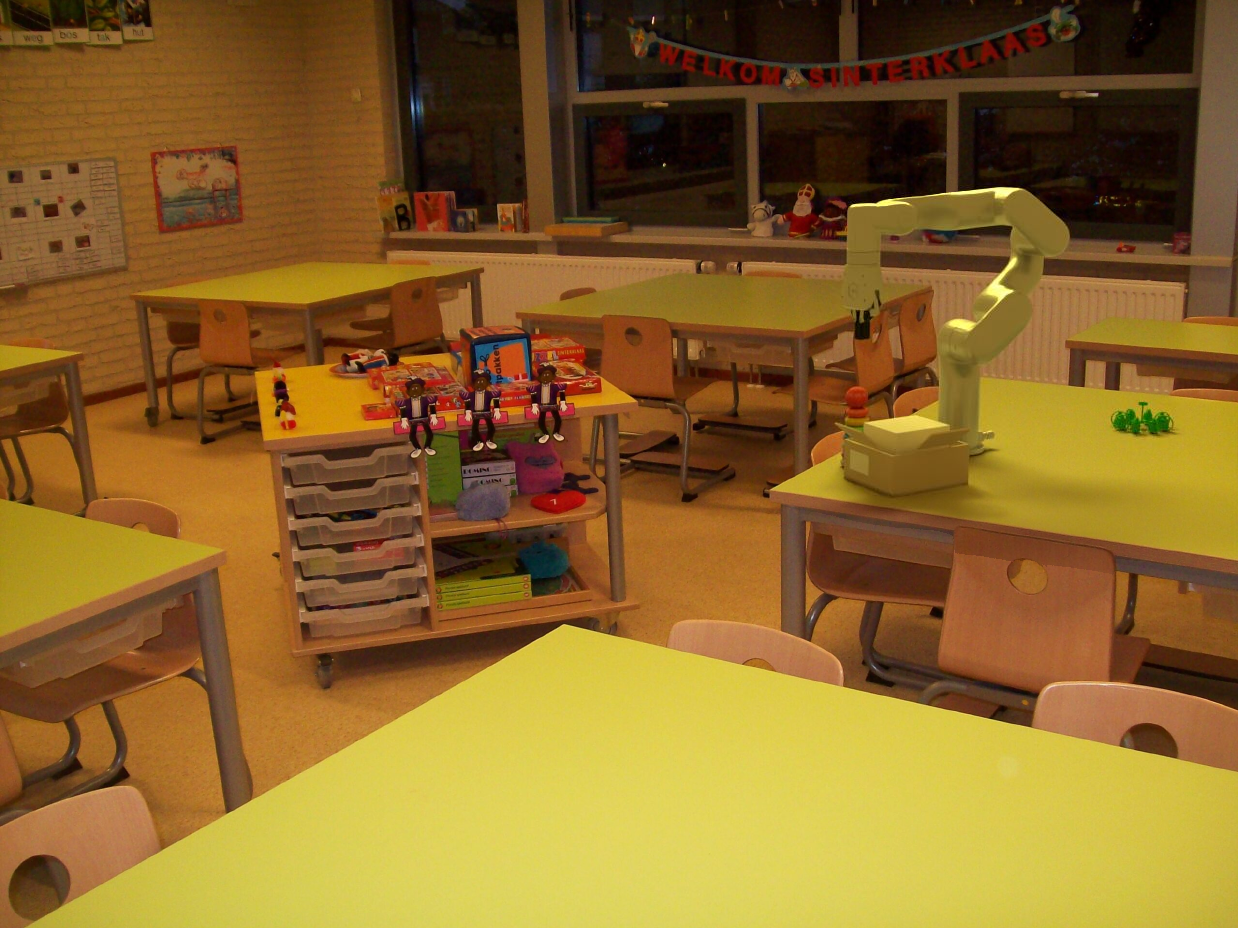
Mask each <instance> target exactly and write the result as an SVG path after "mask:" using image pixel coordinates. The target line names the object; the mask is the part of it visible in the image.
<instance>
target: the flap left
mask: <svg viewBox="0 0 1238 928" xmlns="http://www.w3.org/2000/svg"><path fill="white" fill-rule="evenodd" d="M970 430H971V427H970V428H964V429H957V430H951V431H944V432H937V433H932V434H930V435H929V436H928V437H927V438H926V439H925V440H924V441H923V442H922V443H921V444H920V445H918V446H917V447H916V450H919V449H925V448H931V447H938V446H944V445H950V444H955V443H956V442H957V441H958V440H960V439H961V438H962V437H963V436H964V435H965V434H966V433H968V432H969V431H970Z"/></svg>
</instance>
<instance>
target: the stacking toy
mask: <svg viewBox="0 0 1238 928" xmlns="http://www.w3.org/2000/svg"><path fill="white" fill-rule="evenodd" d="M868 400H869V394H868V392H867V391H866V389H864V388H863V387H860V386H853V387H850V388H849V390H847V392H846V394H845V402H846V403H847V405H848V407H847V408H846V410H845V414H846V415H847V416H846V417H845V418H844V422H845V426H848V427H851V428H854V429H857V430H860V431H862V432H864V423H865V422H870V418H869V417H868V414H869V409H868V408H867V407H866V404H867V403H868ZM849 438H851V437H850V436H849V435H848V434H847V433H844V434H843V437H842V439H843V440H844V439H849ZM840 455H841V457H842V458H841V459H840V466H842V467H843V468H844V441H843V442H842V451H841V453H840Z"/></svg>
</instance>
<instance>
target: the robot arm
mask: <svg viewBox="0 0 1238 928" xmlns="http://www.w3.org/2000/svg"><path fill="white" fill-rule="evenodd" d="M846 212H847V215H846V216H847V217H846V218H847V219H846V220H847V222H846V225H847V226H846V264H844V269H843V274H842V282H841V297H840V302H841V306H842V307H843V308H845V309H846V311H847V312H848V313H850V314H851V315H852V321H853V322H854V340H858V341H863V340H870V338H871V322H873V318H874V317H876V316H879V315H880V309H881V308H882V307H883V301H884V300H883V299H884V287H883V286H884V285H883V274H882V273H883V272H882V266H881V246H882V244H881V242H882V241H881V240H882V239H881V237H882V235H887V236H898V237H899V236H906V235H909V234H910V233H912V232H914V230H936V231H959V230H967V229H975V228H983V227H984V228H985V227H993V226H1008V227H1009V226H1010V227H1012V229H1011V232H1010V235H1009V236H1010V238H1009V241H1010V257H1009V261H1008V263H1007V264H1006V265H1005V267H1004V268H1003V269H1002V270H1001V272H999V274H998V275H997V276H996V277H995V278H994V279H993V280H992V281H991V282H990V283H989V284H988V285H987V286H986V288H984V289H983V290H982V291H981V292H980V293H979V294H978V295H977V296H976V298H975V300H974V301H973V304H972V306H971V308H972V314H973V317H974V318H975V320H977V322H976V321H974V320H971V319H969V320H968V319H965V318H953V319H951V320H948V321H947V322H945V323H944V324H943V325H942V326H941V327H940V329H939V331H938V333H937V336H936V351H937V358H938V367H939V371H938V372H939V374H938V375H939V377H938V378H939V379H938V384H939V385H938V401H937V402H938V404H937V405H938V406H937V407H938V408H937V422H941V423H944V424H947V425H950V431H951V430H957V429H964V428H970V427H971V430H970V431H969V432H968V433H966V434H965V435H964V436H963V437H962V438H961V439H960V440H958V441H961V442H964V443H967V444H970V446H969V456H975V455H980V454H982V453H983V452H985V445H984V444H983V443H982V442H984V441H985V440H993V439H994V438H995V432H994V431H993V430H988V431H984V432H983V430H980V429H979V428H980V427H979V426H980V408H981V407H980V405H981V404H980V403H981V401H980V399H981V382H982V381H981V379H982V376H981V375H982V374H981V369H980V367H981V366H986V365H987V364H989V363H991V362H993V361H994V360H995V359H997V357H999V356H1000V355H1001V354H1002V353H1003V352H1004V351H1005V350H1006V348H1008V347H1009V346H1010V345H1011V344H1012V343H1013V342H1014V340H1016V339H1017V338H1018V336H1020V334H1022V332H1023V331H1024V330H1025V329H1026V328H1027V326H1028V325H1029V323H1030V321H1031V319H1032V316H1033V310H1034V308H1033V302H1032V300H1031V298H1030V297H1029V296H1030V295H1031V294H1032V292H1034V290H1036V288H1037V287H1038V285H1039V284H1040V282H1041V279H1042V277H1043V271H1044V262H1045V261H1044V260H1045V259H1044V258H1052V257H1057V256H1059V255H1061V254H1062V253H1063V252H1064V251H1065V250H1066V249H1067V248H1068V246H1069V243H1070V239H1071V237H1070V230H1069V228H1068V226H1067V225H1066V223H1065V222H1064V221H1063V220H1062V219H1061V218H1060V217H1059V216H1057V215H1056V214H1055V213H1054V212H1053V211H1051V209H1049V208H1048V207H1047V206H1046V205H1045V204H1044V203H1043V202H1042V201H1040V199H1038V198H1037V197H1036V196H1035V195H1033V194H1032V193H1031V192H1029V191H1028V190H1026V189H1025V188H1020V187H1005V186H1003V187H1001V186H1000V187H992V188H991V187H990V188H983V189H982V188H981V189H974V190H966V191H965V190H964V191H956V192H954V191H953V192H946V193H945V192H944V193H939V194H931V195H923V196H911V197H901V198H893V199H891V198H889V199H884V200H881V201H878V202H876V203H872V202H871V203H866V202H865V203H855V204H851V205H850V206H848V209H847V211H846Z"/></svg>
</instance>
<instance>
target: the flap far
mask: <svg viewBox="0 0 1238 928" xmlns="http://www.w3.org/2000/svg"><path fill="white" fill-rule="evenodd" d="M834 425H836V426H837V427H838V429H840V430H842V431H843V432H845V433H847V434H848V435H849V436H850V437H851V438H853V439H854V440H856V441H859V442H861V443H864V444H867V445H870V446H873V447H876V448H878V449H881V450H882V447H881V446H879V445H878V444H877V443H876V442H875V441H873V440H872V439H871V438H870V437H869V436H867V435H866V434H865V433H864V432H862V431H860V430H857V429H854V428H851V427H848V426H845V425H846V424H845V425H844V424H842V423H839V422H836V421H835V423H834ZM845 433H844V434H845Z"/></svg>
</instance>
